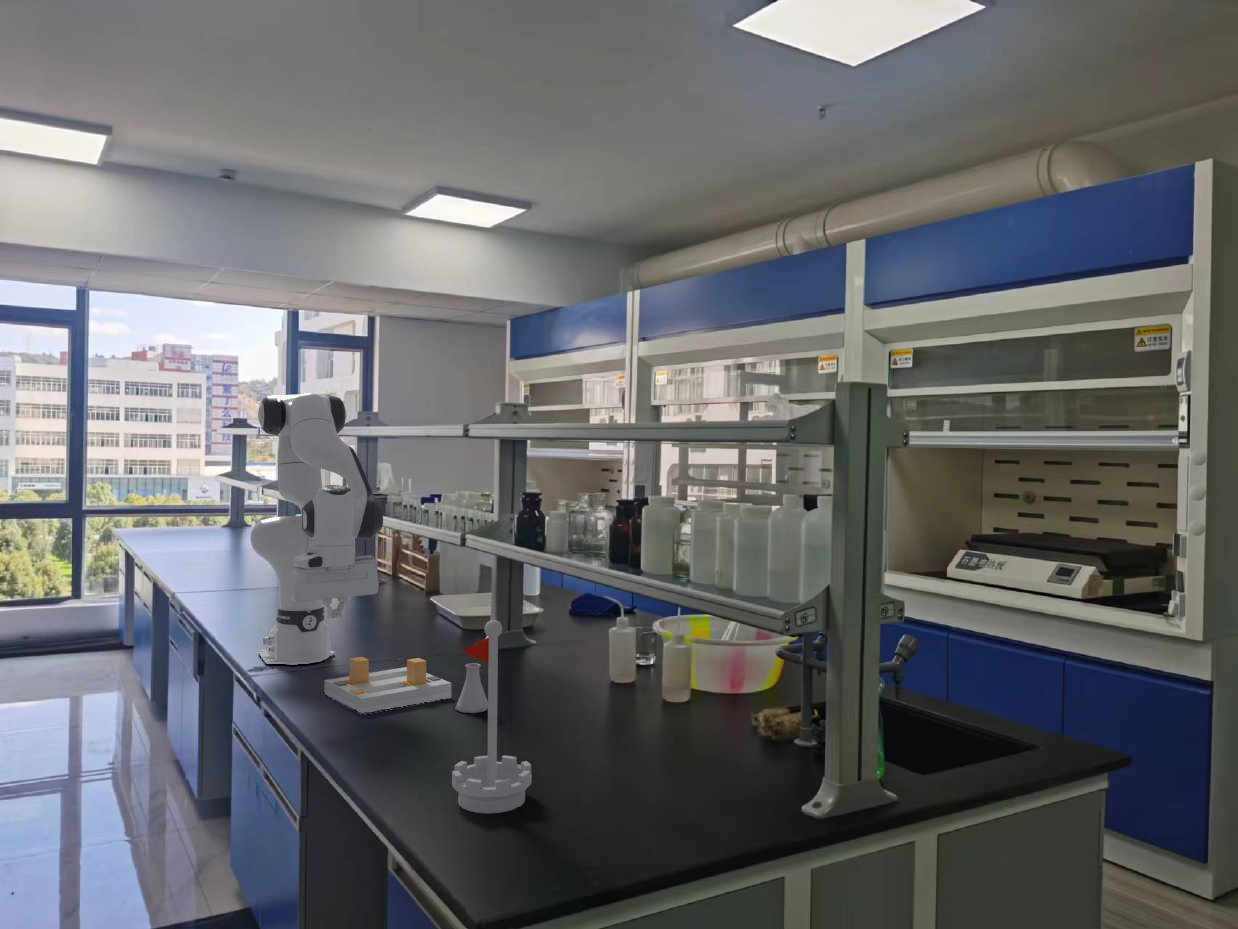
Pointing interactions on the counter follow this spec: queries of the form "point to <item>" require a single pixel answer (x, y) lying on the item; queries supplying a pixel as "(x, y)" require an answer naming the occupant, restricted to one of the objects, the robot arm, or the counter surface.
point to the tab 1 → (358, 671)
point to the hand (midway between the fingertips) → (334, 617)
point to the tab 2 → (416, 672)
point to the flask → (472, 692)
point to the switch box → (387, 690)
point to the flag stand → (491, 750)
